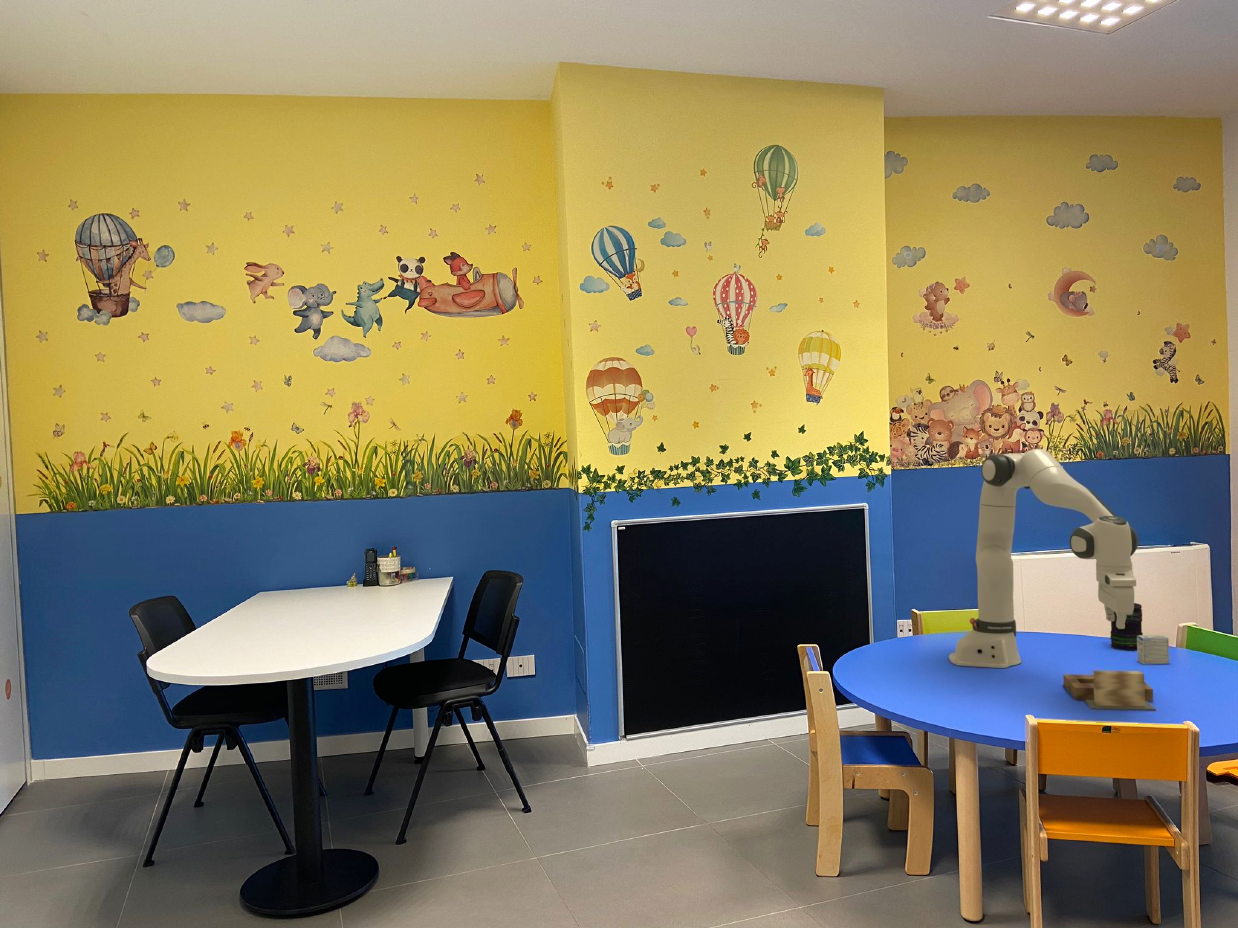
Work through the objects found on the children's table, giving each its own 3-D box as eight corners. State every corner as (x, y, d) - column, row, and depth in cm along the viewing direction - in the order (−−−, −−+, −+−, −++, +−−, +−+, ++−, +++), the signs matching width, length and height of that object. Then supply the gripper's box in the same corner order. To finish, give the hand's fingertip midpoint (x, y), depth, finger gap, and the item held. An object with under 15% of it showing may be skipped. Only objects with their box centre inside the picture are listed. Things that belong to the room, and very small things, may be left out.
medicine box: (1162, 660, 289) (1161, 634, 288) (1169, 664, 284) (1168, 637, 284) (1137, 661, 289) (1136, 635, 289) (1143, 664, 285) (1143, 638, 285)
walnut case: (1075, 699, 254) (1075, 687, 254) (1063, 685, 268) (1063, 674, 268) (1153, 701, 249) (1152, 688, 249) (1137, 686, 263) (1136, 675, 263)
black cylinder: (1150, 649, 303) (1148, 606, 302) (1124, 652, 301) (1123, 608, 300) (1129, 642, 312) (1127, 601, 312) (1104, 645, 311) (1102, 603, 310)
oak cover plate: (1097, 705, 247) (1096, 673, 247) (1094, 701, 250) (1093, 670, 249) (1145, 706, 244) (1144, 674, 244) (1141, 702, 247) (1140, 671, 247)
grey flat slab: (1091, 709, 245) (1091, 707, 245) (1084, 701, 252) (1084, 699, 252) (1155, 710, 241) (1155, 708, 241) (1147, 702, 248) (1147, 700, 248)
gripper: (1091, 569, 257) (1092, 616, 257) (1112, 581, 237) (1113, 632, 237) (1115, 568, 255) (1116, 616, 256) (1138, 581, 235) (1139, 632, 236)
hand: (1115, 624), depth 246 cm, fingers open, 8 cm apart
